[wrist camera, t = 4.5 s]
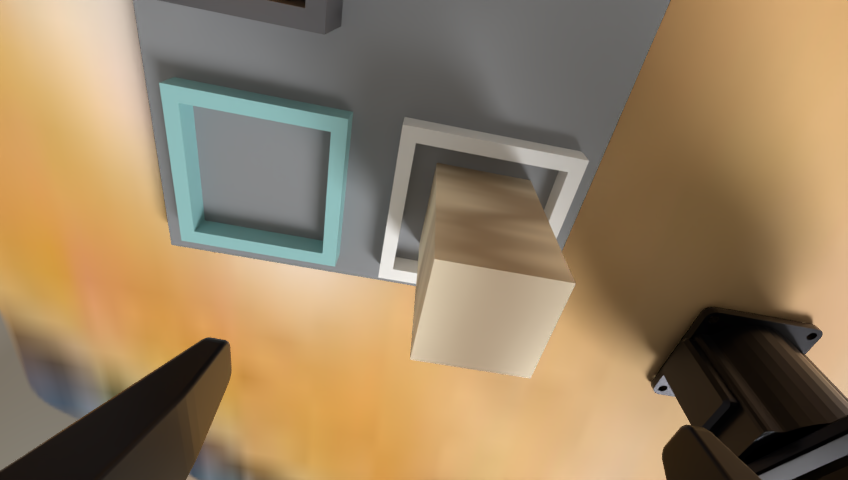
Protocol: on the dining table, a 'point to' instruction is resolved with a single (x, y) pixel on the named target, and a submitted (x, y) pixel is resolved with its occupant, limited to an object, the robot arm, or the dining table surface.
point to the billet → (486, 274)
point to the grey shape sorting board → (376, 115)
